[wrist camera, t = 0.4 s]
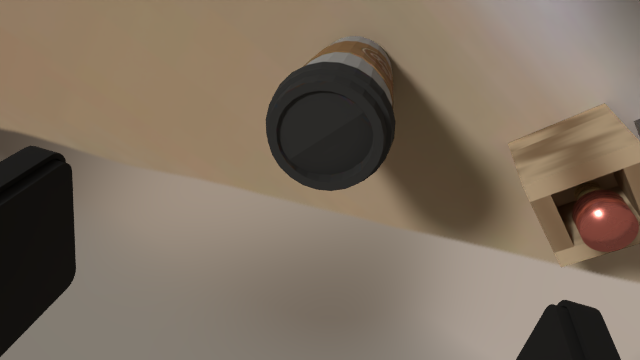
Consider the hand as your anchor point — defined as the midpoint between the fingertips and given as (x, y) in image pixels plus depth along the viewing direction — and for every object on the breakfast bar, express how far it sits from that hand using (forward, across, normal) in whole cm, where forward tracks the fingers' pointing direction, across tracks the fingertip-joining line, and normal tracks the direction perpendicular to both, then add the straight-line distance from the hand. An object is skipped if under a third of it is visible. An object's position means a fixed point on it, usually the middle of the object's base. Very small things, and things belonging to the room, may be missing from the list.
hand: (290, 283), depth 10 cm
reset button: (+30, -18, +9) cm, 36 cm away
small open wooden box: (+36, -18, +9) cm, 41 cm away
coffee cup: (+36, +2, +6) cm, 36 cm away
